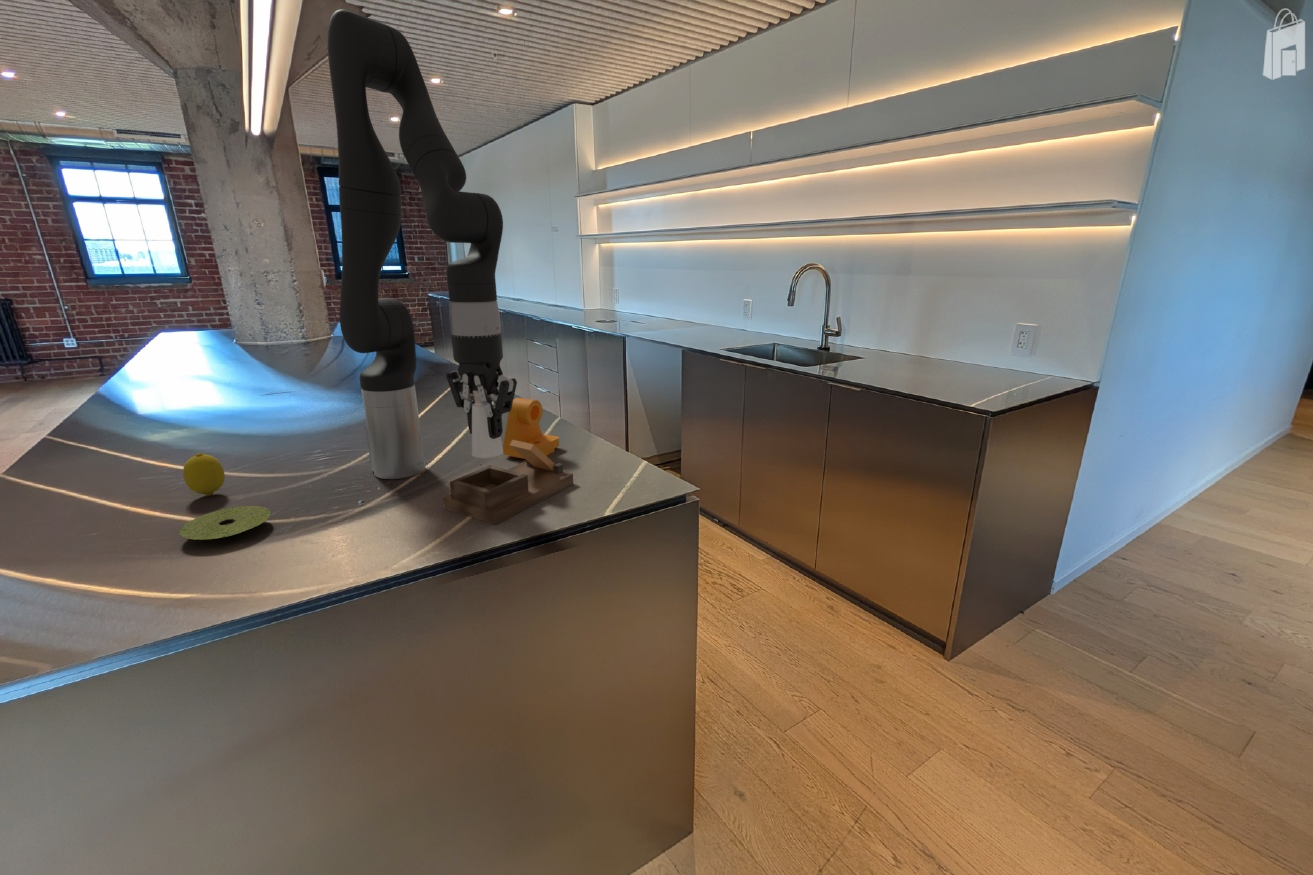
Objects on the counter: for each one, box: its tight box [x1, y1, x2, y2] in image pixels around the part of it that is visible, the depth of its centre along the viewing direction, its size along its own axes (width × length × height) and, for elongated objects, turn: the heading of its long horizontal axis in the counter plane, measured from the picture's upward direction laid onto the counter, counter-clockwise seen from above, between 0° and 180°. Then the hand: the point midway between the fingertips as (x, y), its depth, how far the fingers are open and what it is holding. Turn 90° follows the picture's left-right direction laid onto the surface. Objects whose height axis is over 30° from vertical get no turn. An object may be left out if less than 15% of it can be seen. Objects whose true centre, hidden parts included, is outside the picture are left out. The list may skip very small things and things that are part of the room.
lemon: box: [182, 452, 225, 497], centre depth 98 cm, size 6×6×8 cm
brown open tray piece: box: [442, 460, 574, 526], centre depth 100 cm, size 12×20×5 cm, turn 150°
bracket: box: [502, 397, 560, 460], centre depth 120 cm, size 11×7×12 cm, turn 155°
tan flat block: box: [510, 440, 557, 471], centre depth 104 cm, size 5×9×1 cm
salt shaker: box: [471, 391, 504, 460], centre depth 92 cm, size 5×5×11 cm
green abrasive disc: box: [179, 505, 272, 541], centre depth 86 cm, size 11×11×2 cm
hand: (485, 434), depth 93 cm, fingers closed on salt shaker, 3 cm apart
